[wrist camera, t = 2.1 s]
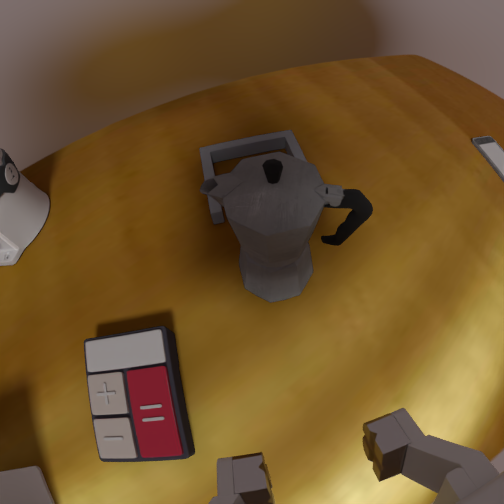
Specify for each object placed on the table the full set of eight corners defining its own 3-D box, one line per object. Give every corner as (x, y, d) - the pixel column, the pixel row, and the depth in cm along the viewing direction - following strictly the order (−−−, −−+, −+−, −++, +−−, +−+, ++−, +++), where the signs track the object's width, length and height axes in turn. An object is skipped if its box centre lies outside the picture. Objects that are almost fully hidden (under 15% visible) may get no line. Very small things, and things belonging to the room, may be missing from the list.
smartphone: (490, 135, 50) (533, 188, 42) (488, 139, 51) (530, 191, 43) (471, 138, 49) (516, 195, 42) (469, 142, 50) (513, 198, 43)
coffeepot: (216, 296, 38) (174, 205, 23) (231, 231, 43) (206, 124, 27) (344, 311, 36) (389, 226, 20) (346, 243, 41) (378, 138, 25)
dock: (213, 224, 44) (210, 213, 41) (202, 159, 50) (199, 148, 48) (318, 201, 44) (320, 190, 42) (291, 141, 51) (291, 129, 49)
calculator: (96, 462, 26) (79, 337, 33) (113, 458, 30) (97, 344, 36) (188, 459, 26) (163, 322, 33) (198, 453, 30) (174, 331, 37)
